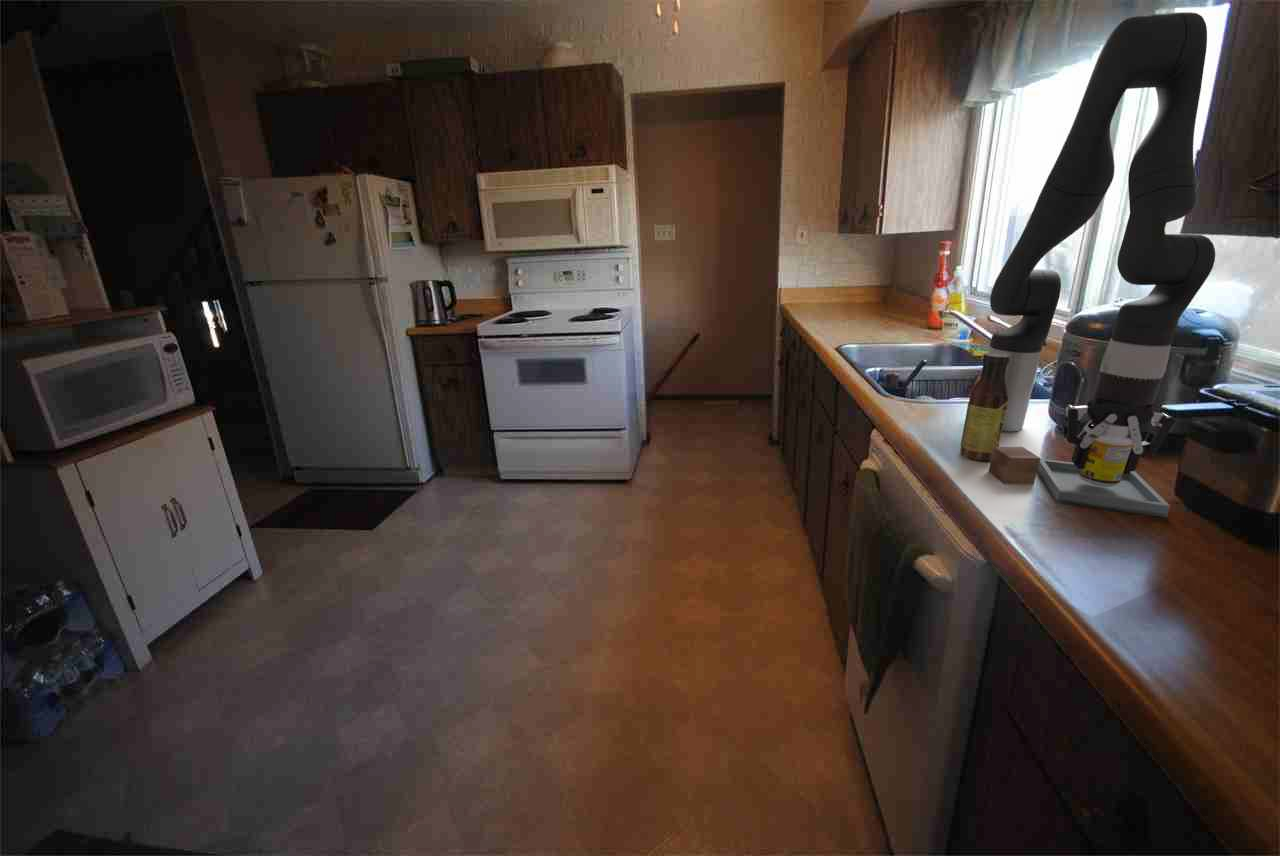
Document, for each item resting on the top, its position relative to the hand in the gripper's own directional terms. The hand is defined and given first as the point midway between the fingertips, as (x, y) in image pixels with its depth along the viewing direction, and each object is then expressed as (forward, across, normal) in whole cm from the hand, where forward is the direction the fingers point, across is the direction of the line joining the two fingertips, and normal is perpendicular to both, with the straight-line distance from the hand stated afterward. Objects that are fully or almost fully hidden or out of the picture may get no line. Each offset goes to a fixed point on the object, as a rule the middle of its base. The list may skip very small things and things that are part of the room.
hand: (1100, 469), depth 92 cm
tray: (+4, 0, 0) cm, 4 cm away
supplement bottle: (+2, 0, 0) cm, 2 cm away
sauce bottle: (+4, +16, -10) cm, 19 cm away
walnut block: (+4, +12, -1) cm, 13 cm away
